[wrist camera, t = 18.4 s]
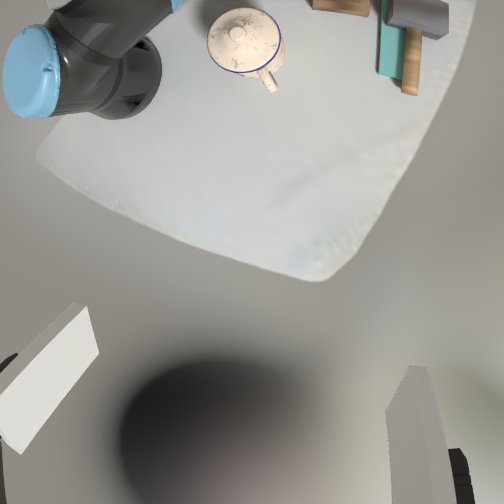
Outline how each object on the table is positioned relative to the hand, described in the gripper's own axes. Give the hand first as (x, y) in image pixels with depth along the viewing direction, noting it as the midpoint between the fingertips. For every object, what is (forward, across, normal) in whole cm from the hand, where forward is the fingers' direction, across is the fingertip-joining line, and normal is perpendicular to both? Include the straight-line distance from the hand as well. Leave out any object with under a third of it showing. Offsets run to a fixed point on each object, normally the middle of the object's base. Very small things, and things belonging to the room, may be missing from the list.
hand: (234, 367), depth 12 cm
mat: (+39, +13, +24) cm, 48 cm away
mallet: (+38, +15, +22) cm, 46 cm away
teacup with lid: (+39, -7, +17) cm, 43 cm away
